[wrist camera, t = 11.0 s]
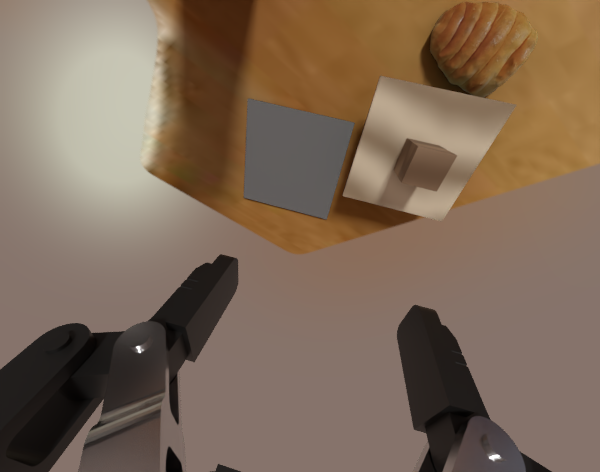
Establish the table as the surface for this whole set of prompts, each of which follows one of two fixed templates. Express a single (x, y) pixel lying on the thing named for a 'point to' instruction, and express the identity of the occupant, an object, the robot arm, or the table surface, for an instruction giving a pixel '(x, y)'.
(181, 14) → the table surface
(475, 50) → the pastry
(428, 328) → the robot arm
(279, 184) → the mat
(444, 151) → the lid
